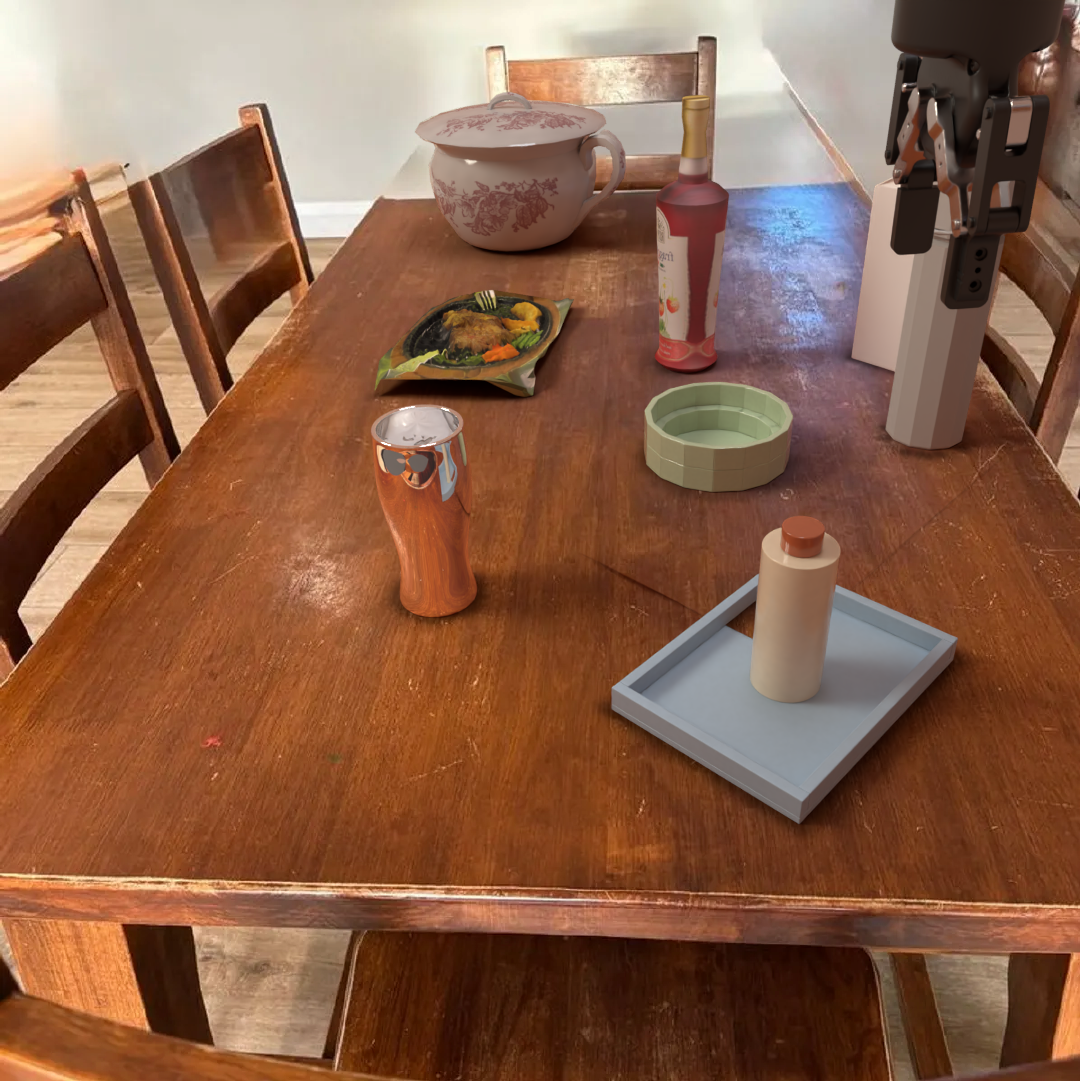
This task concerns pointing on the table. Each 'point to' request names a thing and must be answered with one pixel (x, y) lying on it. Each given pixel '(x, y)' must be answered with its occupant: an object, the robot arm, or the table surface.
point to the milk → (882, 286)
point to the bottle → (793, 609)
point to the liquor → (690, 250)
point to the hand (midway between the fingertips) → (934, 277)
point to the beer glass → (427, 504)
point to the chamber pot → (518, 170)
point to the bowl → (717, 436)
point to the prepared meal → (478, 340)
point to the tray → (777, 727)
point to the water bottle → (936, 350)
